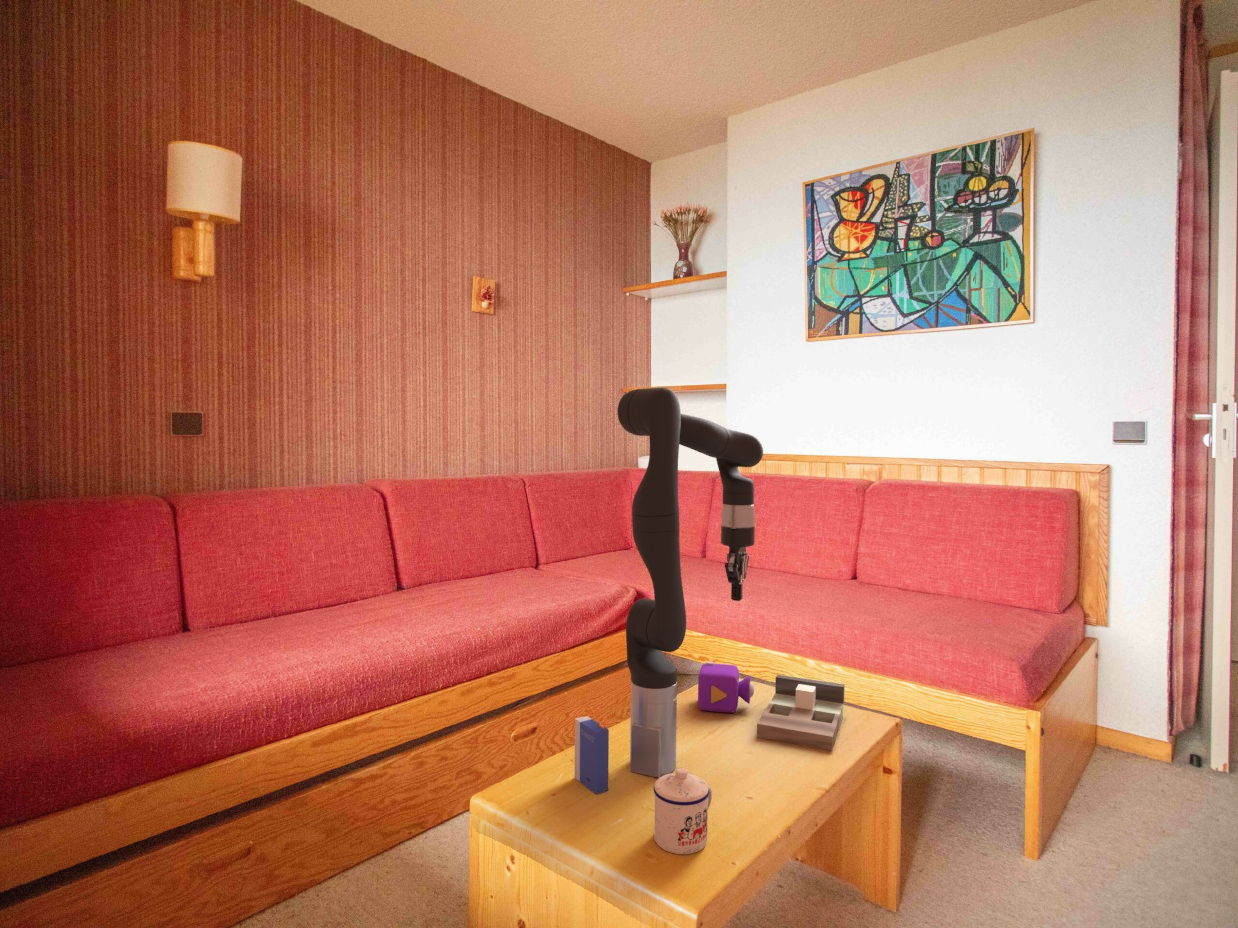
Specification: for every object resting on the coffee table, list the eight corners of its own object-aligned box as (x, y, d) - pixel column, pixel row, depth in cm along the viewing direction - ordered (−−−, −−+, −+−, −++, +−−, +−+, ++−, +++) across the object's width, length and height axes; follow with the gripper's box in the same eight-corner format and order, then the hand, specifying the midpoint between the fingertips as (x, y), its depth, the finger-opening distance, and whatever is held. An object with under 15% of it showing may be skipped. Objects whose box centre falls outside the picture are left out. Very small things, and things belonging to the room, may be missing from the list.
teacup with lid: (683, 863, 109) (683, 790, 109) (641, 838, 116) (642, 769, 115) (731, 833, 118) (732, 765, 117) (689, 812, 124) (690, 747, 124)
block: (812, 709, 164) (813, 692, 163) (795, 706, 165) (795, 689, 165) (815, 703, 167) (815, 686, 167) (798, 700, 169) (798, 683, 169)
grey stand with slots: (832, 750, 149) (832, 717, 148) (756, 736, 155) (757, 705, 155) (843, 712, 169) (844, 684, 169) (776, 702, 175) (777, 674, 175)
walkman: (608, 790, 131) (609, 727, 131) (595, 794, 130) (596, 730, 129) (586, 773, 138) (586, 713, 137) (574, 777, 136) (574, 716, 136)
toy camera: (756, 715, 167) (757, 674, 166) (699, 715, 167) (699, 673, 167) (749, 698, 178) (750, 659, 177) (695, 697, 178) (695, 658, 178)
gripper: (729, 519, 167) (728, 592, 168) (713, 526, 155) (712, 604, 156) (760, 521, 164) (759, 595, 165) (747, 528, 152) (746, 608, 152)
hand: (736, 599), depth 160 cm, fingers closed
